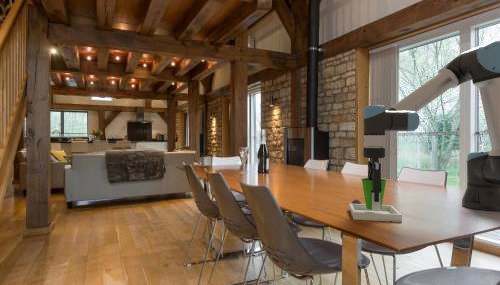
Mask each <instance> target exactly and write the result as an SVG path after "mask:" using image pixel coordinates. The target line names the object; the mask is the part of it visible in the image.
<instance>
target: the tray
mask: <svg viewBox="0 0 500 285" xmlns="http://www.w3.org/2000/svg"><path fill="white" fill-rule="evenodd" d="M348 205H349V206H348V207H349V213H350V214H351V217H352V219H353V220H354V221H371V222H372V221H374V222H390V221H392V222H393V223H402V222H403V215H402V213H401V212H400V211H399V210H397V209H396V207H394V206H393V205H388V204H382V207H381V210H380V211H372V210H369V209H367V208H366V203H361V204H352V203H349V204H348Z"/></svg>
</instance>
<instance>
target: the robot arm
mask: <svg viewBox="0 0 500 285" xmlns="http://www.w3.org/2000/svg"><path fill="white" fill-rule="evenodd" d="M470 81H472V85H473V86H475V87H477V88H478V90H479V96H480V100H481V104H482V109H483V113H484V117H485V118H484V119H485V122H486V123H485V124H486V127H487V133H488V137H489V142H490V146H491V150H488V151H487V150H484V151H472V152H470V153H468V154H467V158H466V189H465V192H464V193H463V197H462V199H461V205H462V206H463V207H466V208H468V209H469V208H470V209H475V210H479V211H480V210H481V211H493V212H494V211H495V212H499V211H500V40H494V41H490V42H486V43H483V44H481V45H479V46H476V47H474V48H471V49H469V50H466V51H464V52H461V53H459V55H457V56H456V57H454V58H453V59H452V60H450V61H448V63H447V64H445V65H444V66H443V67H441V68H440V69H439V70H438V72H437V74H436V75H435V76H433V77H432V78H430V79H429V80H428V81H426V82H425V83H423V84H422V85H421V86H419V87H418V88H417V89H415V90H413V91H412V92H411V93H409V94H407V96H405V97H404V98H403V99H401V100H399V101H397V102H396V104H394V105H392V106H391V107H390V108H388V109H386V106H385V105H383V104H371V105H367V106H365V107H364V108H363V117H362V120H363V137H362V138H361V141H363V147H364V148H363V150H362V151H363V152H362V153H363V154H362V155H363V158H366V159H369V160H367V178H369V180H372V188H373V190H371V193H372V211H380V192H381V191H382V189H381V179H382V169H381V168H382V163H380V161H379V160H380V159H384V158H385V157H386V148H385V147H386V133H388V132H389V133H390V132H415V131H417V129H418V128H419V126H420V116H419V113H418V112H419V111H420V110H421V109H423V108H425V107H426V106H427V105H429V104H430V103H432V102H433V101H435V100H436V99H437V98H439V97H441V95H443V94H444V93H445V92H447V91H448V90H450V89H456V88H457V87H458V86H460V85H461V84H464V83H466V82H470Z"/></svg>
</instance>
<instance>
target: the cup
mask: <svg viewBox="0 0 500 285" xmlns="http://www.w3.org/2000/svg"><path fill="white" fill-rule="evenodd" d="M360 180H361V182H362V189H363V194H364V202H365V203H364V204H366V208H367V209H369V210H372V193H371V190H373V188H372V180H369V178H368V177H365V178H364V177H363V178H361V179H360ZM387 181H388V179H385V178H381V189H382V191H381V192H380V210H381V207H382V205H383V203H384V202H383V201H384V196H385V195H384V194H385V190H386V184H387Z"/></svg>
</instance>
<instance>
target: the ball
mask: <svg viewBox="0 0 500 285" xmlns="http://www.w3.org/2000/svg"><path fill="white" fill-rule="evenodd" d="M351 204H362V202H361V201H360V200H359V199H353V200H352V202H351Z"/></svg>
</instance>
